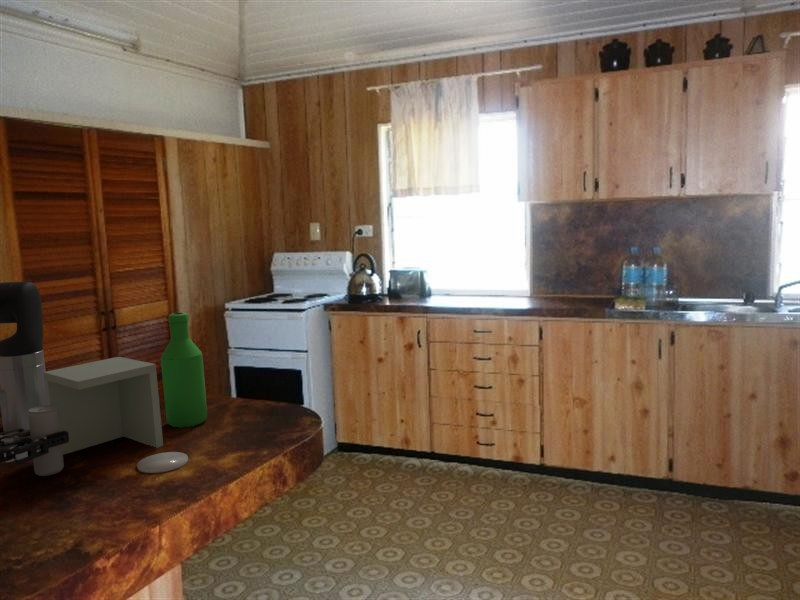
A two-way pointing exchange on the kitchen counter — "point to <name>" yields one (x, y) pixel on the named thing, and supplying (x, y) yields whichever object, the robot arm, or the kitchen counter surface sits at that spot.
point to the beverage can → (43, 424)
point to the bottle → (183, 376)
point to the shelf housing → (106, 402)
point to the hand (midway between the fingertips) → (60, 433)
